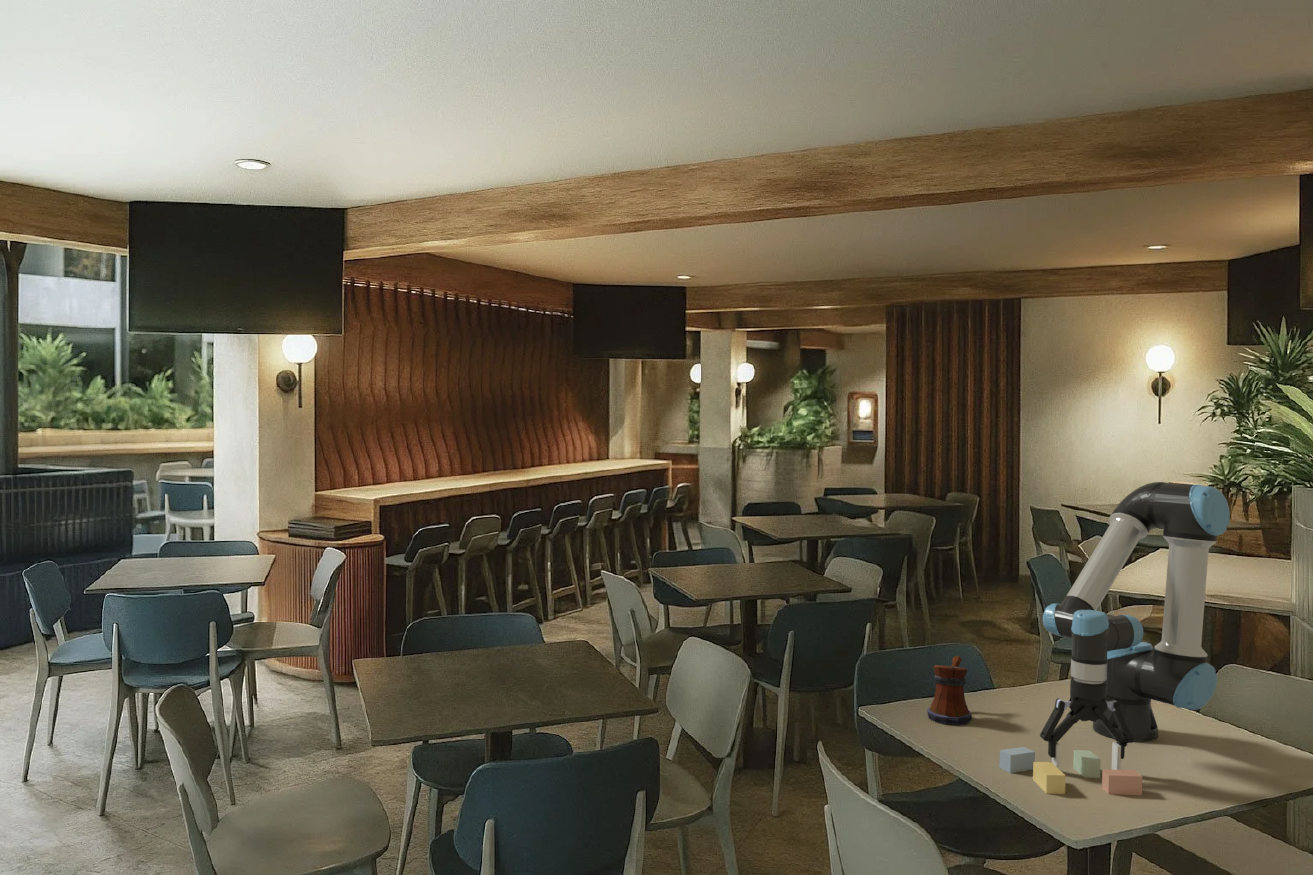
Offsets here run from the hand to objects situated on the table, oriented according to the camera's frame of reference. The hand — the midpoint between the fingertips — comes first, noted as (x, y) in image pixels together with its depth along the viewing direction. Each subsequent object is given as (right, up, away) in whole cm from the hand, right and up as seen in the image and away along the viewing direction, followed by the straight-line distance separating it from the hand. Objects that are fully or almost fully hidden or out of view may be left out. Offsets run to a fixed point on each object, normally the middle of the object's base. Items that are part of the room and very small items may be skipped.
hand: (1085, 772), depth 228 cm
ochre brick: (-12, 0, -9) cm, 15 cm away
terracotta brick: (+3, -1, -11) cm, 11 cm away
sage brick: (0, 0, 0) cm, 0 cm away
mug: (-18, +1, +41) cm, 45 cm away
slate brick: (-15, 0, +2) cm, 15 cm away
